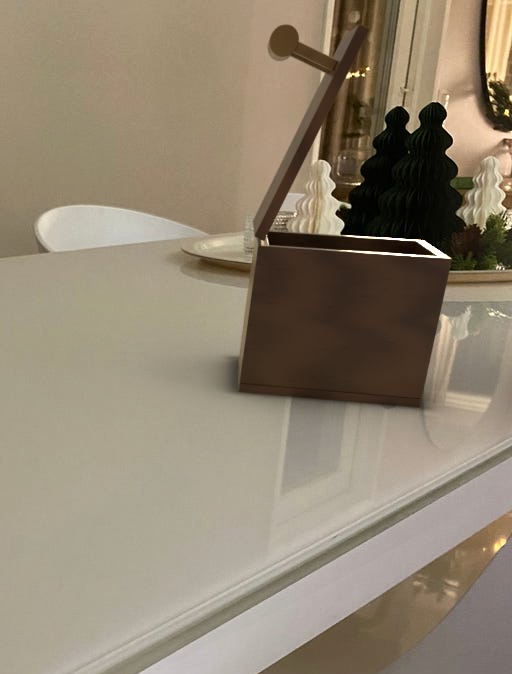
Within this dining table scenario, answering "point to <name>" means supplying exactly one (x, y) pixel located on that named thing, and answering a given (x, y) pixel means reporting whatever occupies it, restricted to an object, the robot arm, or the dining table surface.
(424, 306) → the chest
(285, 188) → the lid
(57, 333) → the dining table surface
